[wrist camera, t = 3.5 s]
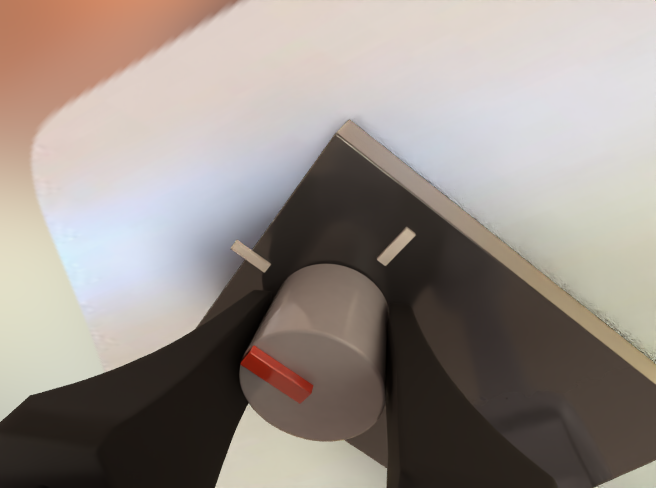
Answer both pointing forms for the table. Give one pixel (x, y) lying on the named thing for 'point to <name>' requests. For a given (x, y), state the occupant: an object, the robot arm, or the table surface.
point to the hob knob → (320, 355)
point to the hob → (466, 312)
